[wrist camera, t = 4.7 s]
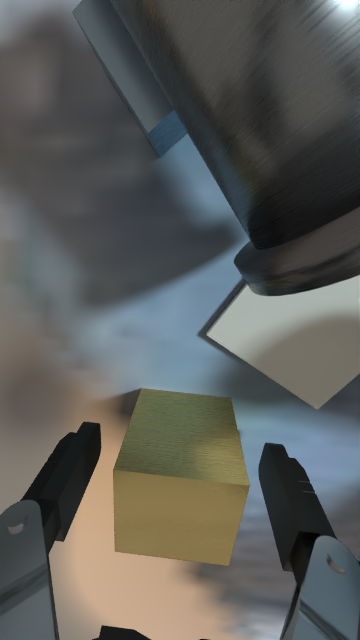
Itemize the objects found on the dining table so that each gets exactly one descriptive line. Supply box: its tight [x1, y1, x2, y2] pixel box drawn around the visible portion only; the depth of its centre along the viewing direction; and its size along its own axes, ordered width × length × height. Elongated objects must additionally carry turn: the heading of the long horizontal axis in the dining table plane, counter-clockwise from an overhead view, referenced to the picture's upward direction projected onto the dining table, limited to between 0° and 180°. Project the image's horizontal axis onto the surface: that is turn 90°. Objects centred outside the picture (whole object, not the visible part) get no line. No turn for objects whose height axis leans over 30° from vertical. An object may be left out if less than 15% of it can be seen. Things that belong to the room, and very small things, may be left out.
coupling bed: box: [206, 275, 360, 410], centre depth 10 cm, size 7×8×1 cm
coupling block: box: [113, 388, 250, 566], centre depth 11 cm, size 4×4×4 cm
